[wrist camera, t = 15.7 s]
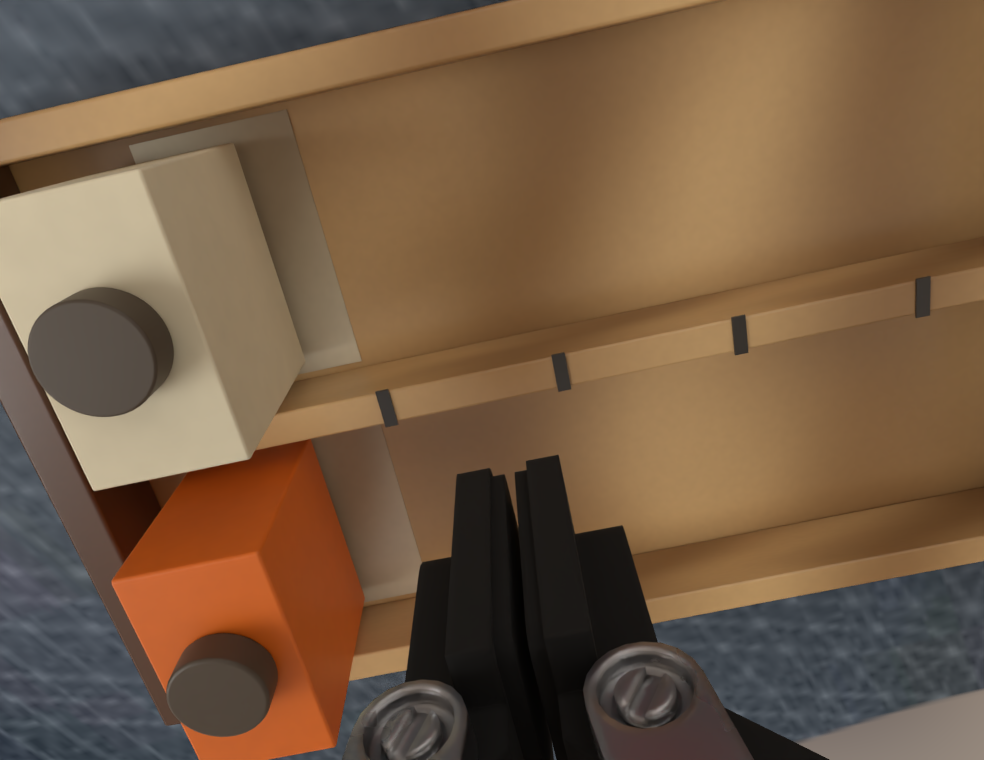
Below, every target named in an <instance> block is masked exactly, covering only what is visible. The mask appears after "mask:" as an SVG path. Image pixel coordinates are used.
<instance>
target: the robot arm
mask: <svg viewBox="0 0 984 760" xmlns="http://www.w3.org/2000/svg"><path fill="white" fill-rule="evenodd" d="M526 469H527V470H523V471H518V472H515V488H516V501H517V515H518V525H517V521H516V517H515V513H514V509H513V504H512V500H511V496H510V492H509V488H508V484H507V480H506V477H505V474H502V475H497V476H493V474H492V471H491V469H490V468H486V469H481V470H476V471H471V472H466V473H461V474H457V477H456V490H455V505H454V521H453V536H452V551H451V557H448V558H442V559H437V560H431V561H426V562H422V564H421V565H420V569H419V575H418V583H417V591H416V599H415V607H414V615H413V623H412V631H411V639H410V647H409V655H408V663H407V671H406V679H405V683H403V684H400V685H398V686H396V687H393V688H391V689H388V690H387V691H385V692H384V693H383V694H381V695H380V696H378V697H377V698H376V699H374V700H373V701H372V702H371V703H370V704H369V705H368V706H367V708H366V709H365V710H364V711H363V712H362V713H361V714H360V716H359V718H358V720H357V722H356V724H355V726H354V728H353V730H352V733H351V735H350V738H349V741H348V744H347V747H346V749H345V752H344V755H343V758H342V760H554V758H553V748H552V743H553V747H554V751H555V755H556V759H557V760H829V759H827V758H825V757H823V756H821V755H819V754H817V753H815V752H813V751H811V750H809V749H807V748H805V747H803V746H801V745H799V744H797V743H795V742H793V741H791V740H789V739H787V738H785V737H783V736H781V735H779V734H777V733H775V732H773V731H771V730H769V729H767V728H764V727H762V726H760V725H758V724H756V723H754V722H752V721H750V720H748V719H746V718H744V717H742V716H740V715H738V714H736V713H734V712H732V711H730V710H728V709H726V708H724V706H723V705H722V703H721V701H720V699H719V698H718V696H717V694H716V692H715V691H714V689H713V687H712V685H711V684H710V682H709V680H708V678H707V677H706V675H705V673H704V671H703V670H702V669H701V667H700V666H699V665H698V664H697V663H696V661H695V660H694V659H693V658H692V657H691V656H689V655H688V654H686V653H684V652H683V651H681V650H680V649H678V648H676V647H672V646H669V645H666V644H663V643H658V642H657V639H656V635H655V632H654V628H653V625H652V622H651V618H650V615H649V611H648V608H647V605H646V601H645V598H644V595H643V591H642V588H641V584H640V581H639V578H638V574H637V571H636V567H635V564H634V561H633V557H632V554H631V550H630V547H629V544H628V540H627V537H626V534H625V530H624V527H623V526H622V525H621V526H615V527H610V528H604V529H599V530H594V531H588V532H583V533H577V534H575V531H574V526H573V521H572V516H571V512H570V507H569V502H568V497H567V492H566V487H565V483H564V478H563V473H562V468H561V463H560V459H559V455H554V456H548V457H543V458H538V459H533V460H528V461H526Z"/></svg>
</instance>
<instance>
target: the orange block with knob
mask: <svg viewBox="0 0 984 760" xmlns="http://www.w3.org/2000/svg"><path fill="white" fill-rule="evenodd" d="M112 586H113V588H114V590H115V592H116V594H117V596H118V598H119V600H120V602H121V604H122V606H123V608H124V610H125V612H126V614H127V616H128V618H129V620H130V622H131V624H132V626H133V628H134V630H135V632H136V634H137V636H138V638H139V640H140V642H141V644H142V646H143V648H144V650H145V652H146V654H147V656H148V658H149V660H150V662H151V664H152V666H153V668H154V670H155V672H156V674H157V676H158V678H159V680H160V682H161V684H162V686H163V688H164V690H165V692H166V697H167V703H168V706H169V708H170V710H171V712H172V713H173V715H174V716H175V717H176V718H177V719H178V720H179V721H180V722H181V724H182V726H183V728H184V730H185V732H186V734H187V736H188V738H189V740H190V742H191V744H192V746H193V748H194V750H195V752H196V754H197V756H198V758H199V760H268V759H274V758H279V757H284V756H290V755H295V754H301V753H306V752H311V751H317V750H322V749H328V748H333V747H335V746H336V744H337V738H338V733H339V728H340V723H341V718H342V713H343V708H344V703H345V697H346V692H347V687H348V682H349V677H350V672H351V667H352V662H353V657H354V651H355V646H356V641H357V636H358V631H359V626H360V621H361V616H362V610H363V605H364V600H365V597H364V594H363V591H362V588H361V585H360V582H359V579H358V576H357V573H356V570H355V567H354V564H353V562H352V559H351V556H350V553H349V550H348V547H347V544H346V541H345V538H344V535H343V532H342V529H341V526H340V523H339V521H338V518H337V515H336V512H335V509H334V506H333V503H332V500H331V497H330V494H329V491H328V488H327V485H326V482H325V480H324V477H323V474H322V471H321V468H320V465H319V462H318V459H317V456H316V453H315V450H314V447H313V444H312V441H311V439H308V440H303V441H298V442H294V443H289V444H284V445H279V446H274V447H269V448H264V449H260V450H255V451H254V453H253V455H252V457H251V458H250V459H248V460H244V461H239V462H234V463H229V464H224V465H219V466H214V467H210V468H205V469H200V470H195V471H190V472H188V473H187V474H186V476H185V477H184V478H183V480H182V481H181V483H180V484H179V485H178V487H177V488H176V490H175V491H174V493H173V494H172V495H171V497H170V498H169V500H168V501H167V502H166V504H165V505H164V507H163V508H162V510H161V511H160V512H159V514H158V515H157V517H156V518H155V519H154V521H153V522H152V524H151V525H150V527H149V528H148V529H147V531H146V532H145V534H144V535H143V537H142V538H141V539H140V541H139V542H138V544H137V545H136V546H135V548H134V549H133V551H132V552H131V554H130V555H129V556H128V558H127V559H126V561H125V562H124V563H123V565H122V566H121V568H120V569H119V571H118V572H117V573H116V575H115V576H114V578H113V579H112Z"/></svg>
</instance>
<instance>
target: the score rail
mask: <svg viewBox="0 0 984 760" xmlns="http://www.w3.org/2000/svg"><path fill="white" fill-rule="evenodd" d="M227 143H233V144H234V146H235V149H236V152H237V155H238V158H239V161H240V164H241V167H242V170H243V173H244V176H245V179H246V182H247V185H248V188H249V191H250V194H251V197H252V200H253V203H254V206H255V209H256V212H257V215H258V218H259V221H260V224H261V228H262V231H263V234H264V237H265V240H266V243H267V246H268V249H269V252H270V255H271V258H272V261H273V264H274V267H275V270H276V273H277V276H278V279H279V282H280V285H281V288H282V291H283V294H284V297H285V300H286V303H287V306H288V309H289V312H290V315H291V319H292V322H293V325H294V328H295V331H296V334H297V337H298V340H299V343H300V346H301V349H302V352H303V355H304V358H305V363H304V365H303V367H302V368H301V370H300V372H299V374H298V375H297V377H296V379H295V381H294V382H293V384H292V386H291V388H290V390H289V391H288V393H287V395H286V397H285V398H284V400H283V402H282V404H281V405H280V407H279V409H278V411H277V413H276V414H275V416H274V418H273V420H272V421H271V423H270V425H269V427H268V428H267V430H266V432H265V434H264V435H263V437H262V439H261V441H260V443H259V444H258V446H257V448H256V450H260V449H264V448H269V447H274V446H279V445H284V444H289V443H294V442H298V441H303V440H308V439H311V441H312V444H313V447H314V450H315V453H316V456H317V459H318V462H319V465H320V468H321V471H322V474H323V477H324V480H325V482H326V485H327V488H328V491H329V494H330V497H331V500H332V503H333V506H334V509H335V512H336V515H337V518H338V521H339V523H340V526H341V529H342V532H343V535H344V538H345V541H346V544H347V547H348V550H349V553H350V556H351V559H352V562H353V564H354V567H355V570H356V573H357V576H358V579H359V582H360V585H361V588H362V591H363V594H364V597H365V600H364V605H363V610H362V616H361V621H360V626H359V631H358V636H357V641H356V646H355V651H354V657H353V662H352V667H351V672H350V677H349V681H351V680H357V679H362V678H367V677H373V676H378V675H383V674H388V673H394V672H399V671H404V670H407V663H408V655H409V647H410V639H411V631H412V623H413V615H414V607H415V599H416V591H417V583H418V575H419V569H420V565H421V564H422V562H426V561H431V560H437V559H442V558H448V557H451V551H452V536H453V521H454V505H455V490H456V477H457V474H461V473H466V472H471V471H476V470H481V469H486V468H490V469H491V471H492V474H493V476H497V475H502V474H505V477H506V480H507V484H508V488H509V492H510V496H511V500H512V504H513V509H514V513H515V517H516V521H517V525H518V515H517V501H516V488H515V472H518V471H523V470H527V469H526V461H528V460H533V459H538V458H543V457H548V456H554V455H559V459H560V463H561V468H562V473H563V478H564V483H565V487H566V492H567V497H568V502H569V507H570V512H571V516H572V521H573V526H574V531H575V534H577V533H583V532H588V531H594V530H599V529H604V528H610V527H615V526H621V525H622V526H623V527H624V530H625V534H626V537H627V540H628V544H629V547H630V550H631V554H632V557H633V561H634V564H635V567H636V571H637V574H638V578H639V581H640V584H641V588H642V591H643V595H644V598H645V601H646V605H647V608H648V611H649V615H650V618H651V622H652V624H653V623H658V622H663V621H669V620H674V619H679V618H685V617H690V616H695V615H700V614H706V613H711V612H716V611H722V610H727V609H732V608H737V607H743V606H748V605H753V604H759V603H764V602H769V601H774V600H780V599H785V598H790V597H796V596H801V595H806V594H811V593H817V592H822V591H827V590H833V589H838V588H843V587H849V586H854V585H859V584H864V583H870V582H875V581H880V580H886V579H891V578H896V577H901V576H907V575H912V574H917V573H923V572H928V571H933V570H938V569H944V568H949V567H954V566H960V565H965V564H970V563H975V562H981V561H984V0H509V1H504V2H500V3H496V4H492V5H487V6H483V7H479V8H474V9H470V10H466V11H462V12H457V13H453V14H449V15H444V16H440V17H436V18H432V19H427V20H423V21H419V22H414V23H410V24H406V25H402V26H397V27H393V28H389V29H384V30H380V31H376V32H372V33H367V34H363V35H359V36H354V37H350V38H346V39H342V40H337V41H333V42H329V43H324V44H320V45H316V46H312V47H307V48H303V49H299V50H294V51H290V52H286V53H282V54H277V55H273V56H269V57H264V58H260V59H256V60H252V61H247V62H243V63H239V64H234V65H230V66H226V67H222V68H217V69H213V70H209V71H204V72H200V73H196V74H192V75H187V76H183V77H179V78H174V79H170V80H166V81H162V82H157V83H153V84H149V85H144V86H140V87H136V88H132V89H127V90H123V91H119V92H114V93H110V94H106V95H102V96H97V97H93V98H89V99H84V100H80V101H76V102H72V103H67V104H63V105H59V106H54V107H50V108H46V109H42V110H37V111H33V112H29V113H24V114H20V115H16V116H12V117H7V118H3V119H0V198H4V197H8V196H12V195H16V194H20V193H23V192H27V191H31V190H35V189H39V188H43V187H46V186H50V185H54V184H58V183H62V182H65V181H69V180H73V179H77V178H81V177H85V176H88V175H92V174H96V173H100V172H104V171H108V170H113V169H117V168H121V167H126V166H130V165H135V164H139V163H143V162H148V161H152V160H156V159H161V158H165V157H170V156H174V155H178V154H183V153H187V152H192V151H196V150H200V149H205V148H209V147H214V146H218V145H222V144H227ZM0 401H1V403H2V405H3V407H4V409H5V411H6V413H7V415H8V417H9V419H10V421H11V423H12V425H13V427H14V429H15V431H16V433H17V435H18V437H19V439H20V441H21V443H22V445H23V447H24V449H25V450H26V452H27V454H28V456H29V458H30V460H31V462H32V464H33V466H34V468H35V470H36V472H37V474H38V476H39V478H40V480H41V482H42V484H43V486H44V488H45V490H46V492H47V494H48V496H49V498H50V500H51V501H52V503H53V505H54V507H55V509H56V511H57V513H58V515H59V517H60V519H61V521H62V523H63V525H64V527H65V529H66V531H67V533H68V535H69V537H70V539H71V541H72V543H73V545H74V547H75V549H76V551H77V552H78V554H79V556H80V558H81V560H82V562H83V564H84V566H85V568H86V570H87V572H88V574H89V576H90V578H91V580H92V582H93V584H94V586H95V588H96V590H97V592H98V594H99V596H100V598H101V600H102V601H103V603H104V605H105V607H106V609H107V611H108V613H109V615H110V617H111V619H112V621H113V623H114V625H115V627H116V629H117V631H118V633H119V635H120V637H121V639H122V641H123V643H124V645H125V647H126V649H127V651H128V652H129V654H130V656H131V658H132V660H133V662H134V664H135V666H136V668H137V670H138V672H139V674H140V676H141V678H142V680H143V682H144V684H145V686H146V688H147V690H148V692H149V694H150V696H151V698H152V700H153V702H154V703H155V705H156V707H157V709H158V711H159V713H160V715H161V717H162V719H163V721H164V723H165V725H167V726H169V725H175V724H180V723H181V722H180V721H179V720H178V719H177V718H176V717H175V716H174V715H173V713H172V712H171V710H170V708H169V706H168V703H167V697H166V692H165V690H164V688H163V686H162V684H161V682H160V680H159V678H158V676H157V674H156V672H155V670H154V668H153V666H152V664H151V662H150V660H149V658H148V656H147V654H146V652H145V650H144V648H143V646H142V644H141V642H140V640H139V638H138V636H137V634H136V632H135V630H134V628H133V626H132V624H131V622H130V620H129V618H128V616H127V614H126V612H125V610H124V608H123V606H122V604H121V602H120V600H119V598H118V596H117V594H116V592H115V590H114V588H113V586H112V579H113V578H114V576H115V575H116V573H117V572H118V571H119V569H120V568H121V566H122V565H123V563H124V562H125V561H126V559H127V558H128V556H129V555H130V554H131V552H132V551H133V549H134V548H135V546H136V545H137V544H138V542H139V541H140V539H141V538H142V537H143V535H144V534H145V532H146V531H147V529H148V528H149V527H150V525H151V524H152V522H153V521H154V519H155V518H156V517H157V515H158V514H159V512H160V511H161V510H162V508H163V507H164V505H165V504H166V502H167V501H168V500H169V498H170V497H171V495H172V494H173V493H174V491H175V490H176V488H177V487H178V485H179V484H180V483H181V481H182V480H183V478H184V477H185V476H186V474H187V473H188V472H185V473H180V474H176V475H171V476H166V477H161V478H156V479H151V480H146V481H142V482H137V483H132V484H127V485H122V486H117V487H112V488H108V489H103V490H98V491H94V490H93V489H92V487H91V485H90V483H89V481H88V479H87V477H86V475H85V473H84V471H83V469H82V467H81V465H80V462H79V460H78V458H77V456H76V454H75V452H74V450H73V448H72V446H71V444H70V442H69V440H68V438H67V436H66V433H65V431H64V429H63V427H62V425H61V423H60V421H59V419H58V417H57V415H56V413H55V411H54V409H53V406H52V404H51V402H50V400H49V398H48V396H47V394H46V392H45V390H44V389H43V387H42V386H41V385H40V383H39V382H38V381H37V379H36V377H35V375H34V373H33V371H32V369H31V366H30V362H29V359H28V355H27V352H26V350H25V348H24V346H23V344H22V342H21V340H20V338H19V336H18V334H17V332H16V330H15V328H14V326H13V323H12V321H11V319H10V317H9V315H8V313H7V311H6V309H5V307H4V305H3V303H2V301H1V299H0Z"/></svg>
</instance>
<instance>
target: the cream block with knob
mask: <svg viewBox="0 0 984 760" xmlns="http://www.w3.org/2000/svg"><path fill="white" fill-rule="evenodd" d="M0 299H1V301H2V303H3V305H4V307H5V309H6V311H7V313H8V315H9V317H10V319H11V321H12V323H13V326H14V328H15V330H16V332H17V334H18V336H19V338H20V340H21V342H22V344H23V346H24V348H25V350H26V352H27V355H28V359H29V362H30V366H31V369H32V371H33V373H34V375H35V377H36V379H37V381H38V382H39V383H40V385H41V386H42V387H43V389H44V390H45V392H46V394H47V396H48V398H49V400H50V402H51V404H52V406H53V409H54V411H55V413H56V415H57V417H58V419H59V421H60V423H61V425H62V427H63V429H64V431H65V433H66V436H67V438H68V440H69V442H70V444H71V446H72V448H73V450H74V452H75V454H76V456H77V458H78V460H79V462H80V465H81V467H82V469H83V471H84V473H85V475H86V477H87V479H88V481H89V483H90V485H91V487H92V489H93V490H94V491H98V490H103V489H108V488H112V487H117V486H122V485H127V484H132V483H137V482H142V481H146V480H151V479H156V478H161V477H166V476H171V475H176V474H180V473H185V472H190V471H195V470H200V469H205V468H210V467H214V466H219V465H224V464H229V463H234V462H239V461H244V460H248V459H250V458H251V457H252V455H253V453H254V451H255V450H256V448H257V446H258V444H259V443H260V441H261V439H262V437H263V435H264V434H265V432H266V430H267V428H268V427H269V425H270V423H271V421H272V420H273V418H274V416H275V414H276V413H277V411H278V409H279V407H280V405H281V404H282V402H283V400H284V398H285V397H286V395H287V393H288V391H289V390H290V388H291V386H292V384H293V382H294V381H295V379H296V377H297V375H298V374H299V372H300V370H301V368H302V367H303V365H304V363H305V358H304V355H303V352H302V349H301V346H300V343H299V340H298V337H297V334H296V331H295V328H294V325H293V322H292V319H291V315H290V312H289V309H288V306H287V303H286V300H285V297H284V294H283V291H282V288H281V285H280V282H279V279H278V276H277V273H276V270H275V267H274V264H273V261H272V258H271V255H270V252H269V249H268V246H267V243H266V240H265V237H264V234H263V231H262V228H261V224H260V221H259V218H258V215H257V212H256V209H255V206H254V203H253V200H252V197H251V194H250V191H249V188H248V185H247V182H246V179H245V176H244V173H243V170H242V167H241V164H240V161H239V158H238V155H237V152H236V149H235V146H234V144H233V143H227V144H222V145H218V146H214V147H209V148H205V149H200V150H196V151H192V152H187V153H183V154H178V155H174V156H170V157H165V158H161V159H156V160H152V161H148V162H143V163H139V164H135V165H130V166H126V167H121V168H117V169H113V170H108V171H104V172H100V173H96V174H92V175H88V176H85V177H81V178H77V179H73V180H69V181H65V182H62V183H58V184H54V185H50V186H46V187H43V188H39V189H35V190H31V191H27V192H23V193H20V194H16V195H12V196H8V197H4V198H0Z"/></svg>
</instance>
